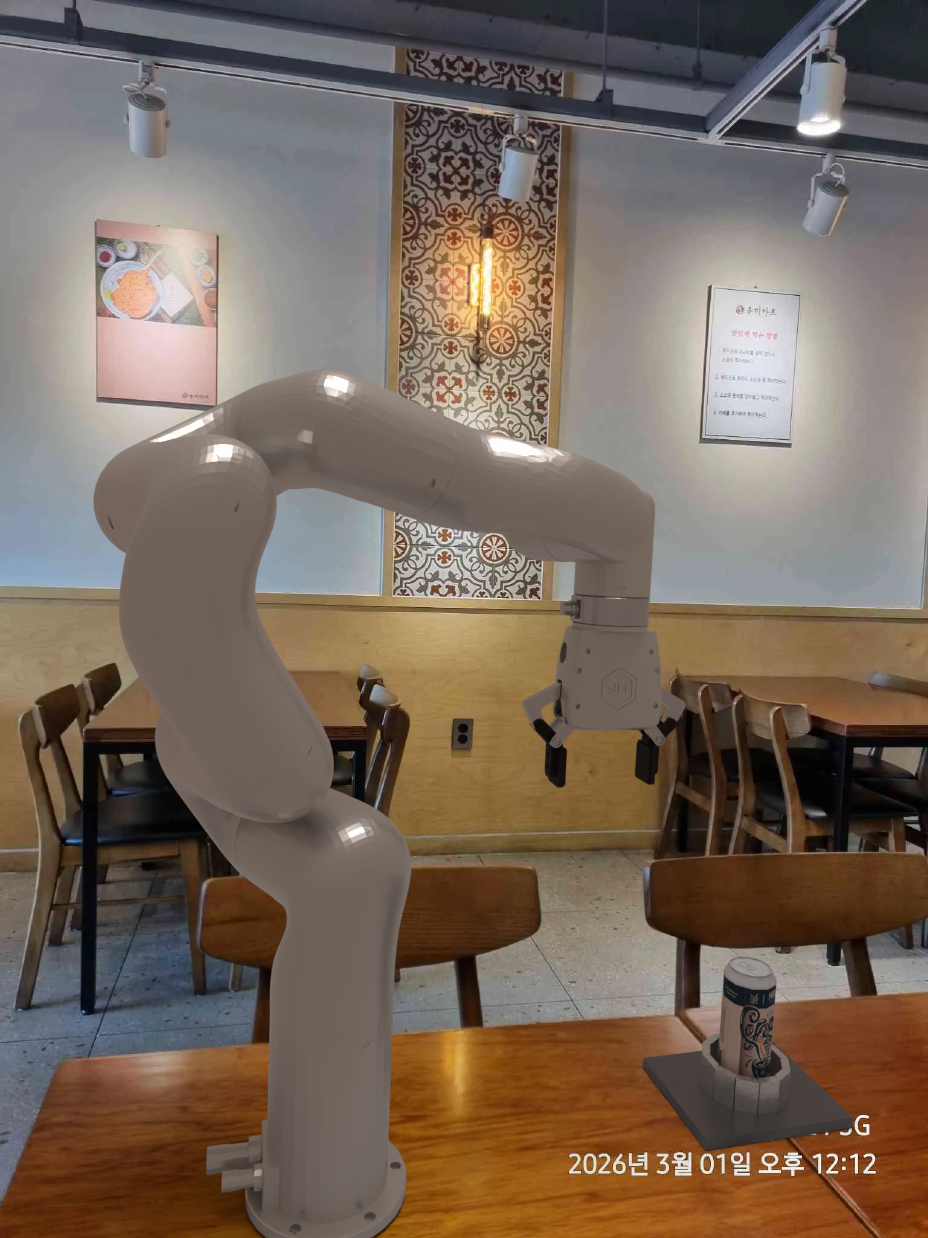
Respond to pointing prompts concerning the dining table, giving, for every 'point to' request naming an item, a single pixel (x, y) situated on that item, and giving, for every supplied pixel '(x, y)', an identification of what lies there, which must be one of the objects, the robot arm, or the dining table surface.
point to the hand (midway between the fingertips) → (600, 782)
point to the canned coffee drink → (747, 1017)
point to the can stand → (743, 1098)
